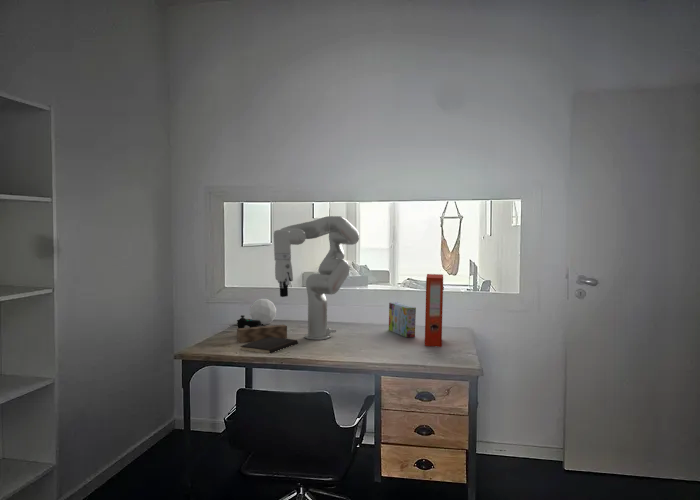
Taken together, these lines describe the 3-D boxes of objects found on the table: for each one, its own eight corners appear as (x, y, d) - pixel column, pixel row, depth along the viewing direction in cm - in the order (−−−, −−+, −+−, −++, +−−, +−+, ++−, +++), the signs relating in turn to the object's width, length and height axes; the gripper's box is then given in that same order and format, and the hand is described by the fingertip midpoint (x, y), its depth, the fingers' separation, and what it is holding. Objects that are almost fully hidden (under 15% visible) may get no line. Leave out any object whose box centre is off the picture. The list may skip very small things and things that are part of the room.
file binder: (442, 339, 288) (443, 274, 286) (442, 346, 271) (443, 278, 269) (425, 338, 289) (426, 274, 287) (424, 346, 272) (425, 277, 270)
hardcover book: (240, 351, 262) (240, 345, 262) (269, 341, 283) (269, 336, 283) (269, 355, 255) (269, 349, 255) (297, 344, 276) (297, 339, 276)
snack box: (416, 337, 292) (416, 307, 291) (406, 338, 290) (406, 307, 289) (397, 329, 312) (397, 301, 311) (387, 330, 310) (388, 301, 309)
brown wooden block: (283, 336, 292) (283, 324, 291) (286, 338, 288) (286, 325, 288) (237, 341, 280) (237, 328, 280) (239, 342, 277) (239, 330, 277)
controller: (239, 334, 297) (239, 314, 296) (262, 335, 294) (262, 315, 293) (235, 335, 292) (235, 316, 292) (258, 337, 289) (258, 317, 289)
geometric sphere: (269, 333, 323) (277, 314, 316) (243, 324, 321) (251, 305, 313) (274, 317, 335) (282, 298, 328) (249, 308, 333) (256, 289, 325)
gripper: (297, 257, 263) (298, 297, 265) (283, 255, 276) (284, 293, 278) (281, 258, 260) (283, 299, 261) (268, 256, 272) (270, 295, 274)
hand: (284, 296), depth 270 cm, fingers closed
